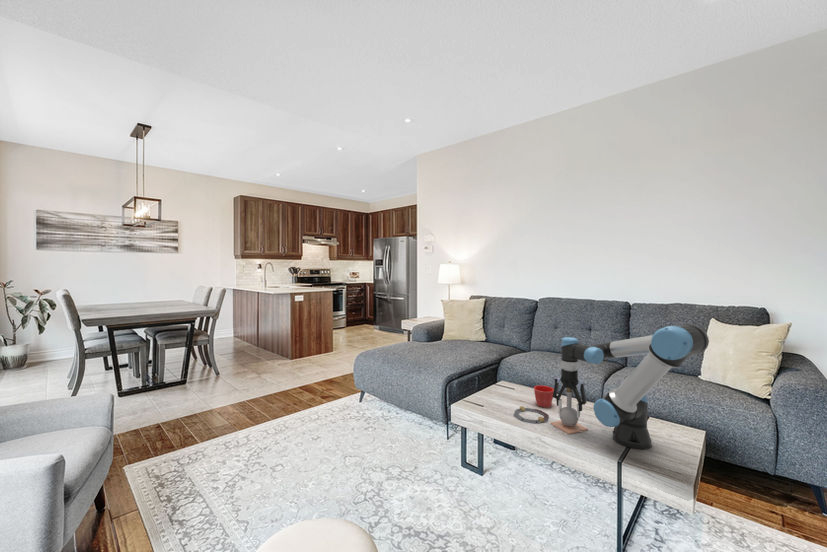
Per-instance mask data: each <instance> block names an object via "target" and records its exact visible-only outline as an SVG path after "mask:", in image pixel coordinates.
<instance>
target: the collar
mask: <svg viewBox="0 0 827 552" xmlns="http://www.w3.org/2000/svg"><path fill="white" fill-rule="evenodd" d="M523 412H531V413H537V412H538V413H537V414H540V415H541V416H539V417H538V416H537V417H538V418H537V419H530V418H525V417H523V416H521V415H520V413H523ZM513 416H514V417H515V418H516V419H518V420H520V421H521V422H523V423H529V424H534V425H535V424H537V425H539V424H543V423H548V421H549V418H550V417H549V414H548V413H546V412H545V411H543V410H541V409H537V408H531V407H525V406H524V405H522V406H521V405H520V406H519V408H516V409H515V411H514V412H513ZM542 416H543V417H542Z"/></svg>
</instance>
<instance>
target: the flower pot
mask: <svg viewBox="0 0 827 552" xmlns="http://www.w3.org/2000/svg"><path fill="white" fill-rule="evenodd" d="M533 390H534V396H535V402H536V405H537V407H540V408H546V409H547V408H550V407H551V406H552V403H553V392H554V387H551V386H548V385H535V386H534V387H533Z"/></svg>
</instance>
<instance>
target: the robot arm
mask: <svg viewBox="0 0 827 552" xmlns="http://www.w3.org/2000/svg"><path fill="white" fill-rule="evenodd" d="M709 343H710V340H709V336H708V334H707V332H706V331H705V330H704V329H703V328H702V327H699V326H697V325H694V324H689V323H687V324H679V325H668V326H665V327H661V328H659V329H657V330H655V332H653V334H651V335H645V336H641V337H640V336H638V337H635V338H634V337H632V338H627V339H620V340H614V341H608V342H607V341H606V342H601V343H597V344H590V345H586V344H582V343H579V339H578V338H575V337H569V336H568V337H566V336H565V337H562V338H561V345H560V347H561V349H560V352H561V363H560V373H561V374H560V378H558V377H555V379H554V386H553V389H554V392H553V398H554V399H555V400H556V407H558V408H557V409H558V414H560V411H561V409H562V408H563V407H562V406H563V405H562V404H563V402H562V399H563V398H562V395H563V394H564V392H565V391H566V389H567V387H568V388H570V389H572V391H573V395H574V396H575V399H576V401H577V404H576V411H577V418H578V419H579V418H580V417H581V412H582V411H583V405H584V406H585V405H586V404H587V397H586V391H585V385H586V383H585V382H580V381H579V373H578V372H579V371H578V369H579V361H582V362H585V363H589V364H594V365H600V364H601V363H602V362H603V360H608V359H617V358H625V357H635V356H643V355H645V357H643V359H642V360H641V361H640V363H639V364H638V365H637V366H636V367H635V368H634V369H633V370H632V371H631V373H630V374H629V375H628V376H627V377H626V378H625V379H624V381H622V382H621V384H620V385H619V386H618V388H612V389H610V390H609V391H608V392H607V393H606V394H605V396H604V397H602V398H598V399H597V400H595V402H594V403H593V412H594V415H595V418H596V419H597V420H598V422H599V423H601V424H602V425H603V426H605V427H608V428H613V430H612V439H613V440H614V441H615V442H616V443H618V444H620V445H622V446H624V447H626V448H632V449H637V450H648V449H650V448H651V447H652V444H653V442H652V438H651V435H650V431H649V429H648V404H649V402H648V396H647V394H648V393H649V391H651V390H652V388H654V387H655V385H656V384H657V383H659V381H660V380H661V379H662V378H663V377H664V376H665V375H666V374H667V373H668V372H669V371H670V370H671V369H673V368H674V369H677V368H679V367H680V366H682V364H684V363H685V362H686V361H687V359H689V358H690V357H692V356H696V355H699V354H702V353H703V352H705V350H707V349H708V347H709V345H710V344H709ZM560 383H561V384H562V386H561V388H560V390H559V392H558V389H559V384H560ZM577 386H579V388H580V391H578V387H577ZM579 392H580V393H579Z"/></svg>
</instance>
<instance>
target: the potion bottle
mask: <svg viewBox="0 0 827 552" xmlns="http://www.w3.org/2000/svg"><path fill="white" fill-rule="evenodd" d="M564 392H565V395H566V406H563V407H562V409H561V411H560V414H559V413H558V414H559V415H558V416H559V419H560V421H561V422H562V423H563V424H565V425H567V426H576V423H578V422H579V418H577V408H576V409H575V408H574V407H572V404H573V403H572V401H573V400H572V399H573V398H572V397H573V395H574V391H573V390H572V389H570V388H568V387H567V388H566V389H565V390H564Z"/></svg>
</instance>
